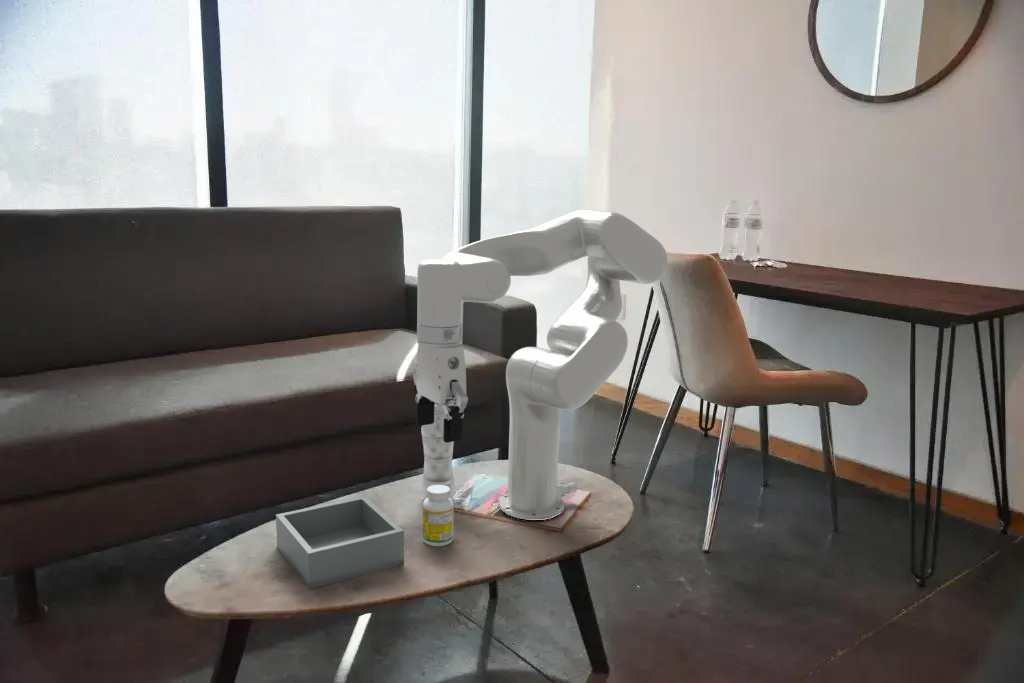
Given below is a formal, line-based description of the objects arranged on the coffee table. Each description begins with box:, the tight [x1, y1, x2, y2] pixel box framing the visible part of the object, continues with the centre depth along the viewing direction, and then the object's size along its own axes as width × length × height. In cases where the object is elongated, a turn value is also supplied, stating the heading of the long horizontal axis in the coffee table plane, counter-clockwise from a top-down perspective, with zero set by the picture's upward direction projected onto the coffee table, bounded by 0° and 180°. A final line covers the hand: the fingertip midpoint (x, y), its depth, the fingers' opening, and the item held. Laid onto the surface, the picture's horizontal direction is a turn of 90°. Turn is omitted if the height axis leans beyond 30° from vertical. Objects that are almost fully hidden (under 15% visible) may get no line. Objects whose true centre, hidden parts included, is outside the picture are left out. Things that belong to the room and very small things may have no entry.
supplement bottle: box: [422, 485, 455, 547], centre depth 141 cm, size 5×5×10 cm
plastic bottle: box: [420, 402, 456, 500], centre depth 157 cm, size 6×7×20 cm
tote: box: [275, 495, 405, 590], centre depth 135 cm, size 16×16×6 cm
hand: (438, 432), depth 138 cm, fingers open, 9 cm apart
